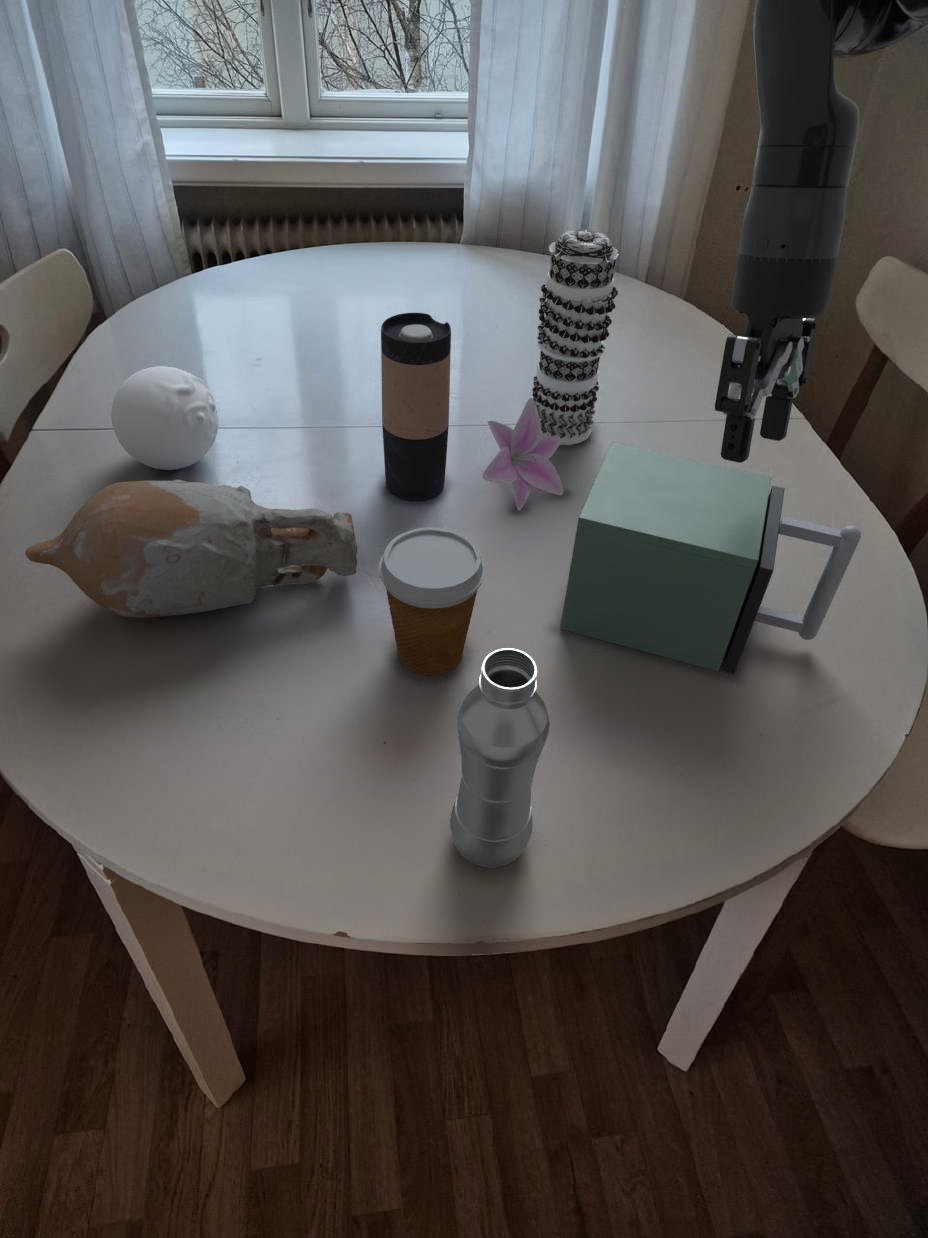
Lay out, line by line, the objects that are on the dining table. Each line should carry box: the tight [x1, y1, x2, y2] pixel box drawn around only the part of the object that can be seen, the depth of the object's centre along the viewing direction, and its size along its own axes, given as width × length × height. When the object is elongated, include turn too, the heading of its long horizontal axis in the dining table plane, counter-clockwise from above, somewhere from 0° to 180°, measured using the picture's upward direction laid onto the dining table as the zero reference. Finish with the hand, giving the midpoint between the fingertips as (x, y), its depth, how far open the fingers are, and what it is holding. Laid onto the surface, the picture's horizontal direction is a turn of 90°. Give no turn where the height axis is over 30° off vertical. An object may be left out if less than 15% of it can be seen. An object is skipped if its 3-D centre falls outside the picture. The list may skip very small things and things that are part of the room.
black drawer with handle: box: [721, 485, 862, 675], centre depth 84 cm, size 22×14×15 cm, turn 70°
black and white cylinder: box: [531, 229, 620, 446], centre depth 107 cm, size 9×9×25 cm
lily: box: [481, 397, 565, 511], centre depth 103 cm, size 12×12×10 cm
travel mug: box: [380, 312, 452, 502], centre depth 98 cm, size 8×8×20 cm
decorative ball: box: [110, 365, 220, 471], centre depth 102 cm, size 12×12×12 cm
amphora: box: [25, 479, 359, 619], centre depth 84 cm, size 14×16×30 cm
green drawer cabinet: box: [559, 441, 772, 672], centre depth 86 cm, size 16×14×14 cm
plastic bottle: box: [449, 647, 550, 869], centre depth 62 cm, size 6×7×20 cm
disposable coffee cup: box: [378, 526, 487, 676], centre depth 80 cm, size 10×10×12 cm
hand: (753, 448), depth 76 cm, fingers open, 8 cm apart
